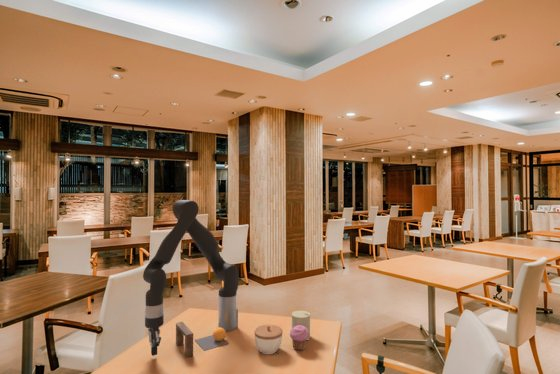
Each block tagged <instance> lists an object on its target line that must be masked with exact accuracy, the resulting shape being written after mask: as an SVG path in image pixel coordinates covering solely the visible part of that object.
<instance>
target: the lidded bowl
mask: <svg viewBox="0 0 560 374" xmlns="http://www.w3.org/2000/svg"><path fill="white" fill-rule="evenodd" d="M283 333H284V332H283V329H282V327H280V326H278V325H276V324H263V325H259V326H257V327H256V328H255V329H254V342H255V345H256V348H257V349H258V350H259V352H260V353H261V352H262V353H261V354H263V355H266V354H271V355H274V354H275V352H277V351H278V350H279V349H280V348H281V345H282V342H283ZM273 353H274V354H273Z"/></svg>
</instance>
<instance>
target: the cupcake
mask: <svg viewBox="0 0 560 374" xmlns="http://www.w3.org/2000/svg"><path fill="white" fill-rule="evenodd" d="M289 336H290V338H291V341H292V348H293V349H294V350H297V349H298V351H304V349H305V346H306V343H307V341H306V340H307V338H308V337H309V331H308V329H307V328H306V327H305V326H302V325H297V326H295V327H293V328H292V327H291V329H290V331H289Z"/></svg>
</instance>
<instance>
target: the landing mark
mask: <svg viewBox="0 0 560 374" xmlns="http://www.w3.org/2000/svg"><path fill="white" fill-rule="evenodd" d="M194 341H195V342H196V343H197V345H198V346H199V347H200V348H201V349H202V350H203V351H209V350H211V349H214V348H217V347H221V346H225V345H228V344H229V342H228V341H227V340H226V339H225V338H224V339H223V340H222V341H216V340H215V339H214V337H213V334H211V335H208V336H204V337H201V338H196V339H195V340H194Z"/></svg>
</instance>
